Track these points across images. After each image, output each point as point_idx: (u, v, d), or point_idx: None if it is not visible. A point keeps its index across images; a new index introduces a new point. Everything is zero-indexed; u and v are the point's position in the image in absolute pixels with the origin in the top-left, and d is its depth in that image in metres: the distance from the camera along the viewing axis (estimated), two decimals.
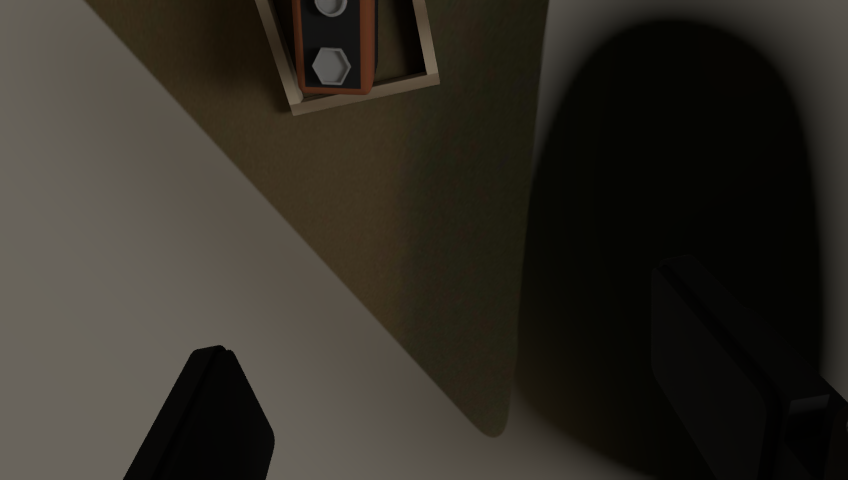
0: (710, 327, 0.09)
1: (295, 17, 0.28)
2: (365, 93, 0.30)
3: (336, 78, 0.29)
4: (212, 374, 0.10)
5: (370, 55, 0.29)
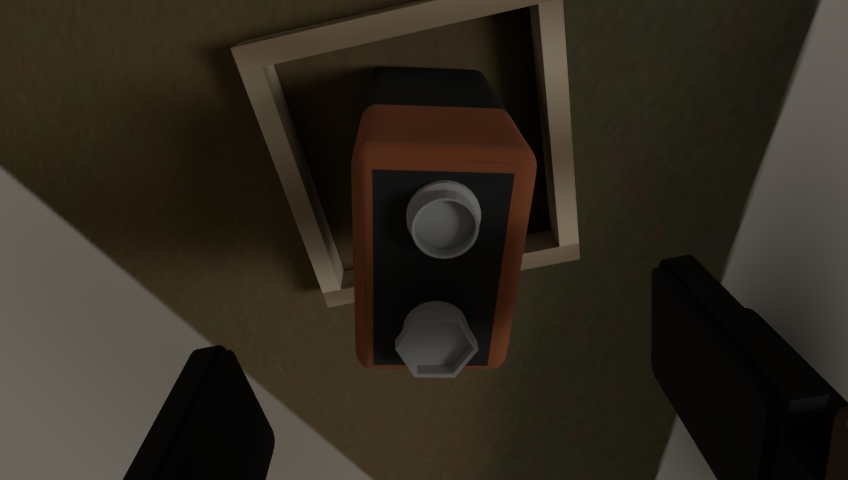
0: (710, 327, 0.09)
1: (360, 248, 0.13)
2: (494, 368, 0.15)
3: (443, 360, 0.14)
4: (212, 374, 0.10)
5: (513, 307, 0.14)
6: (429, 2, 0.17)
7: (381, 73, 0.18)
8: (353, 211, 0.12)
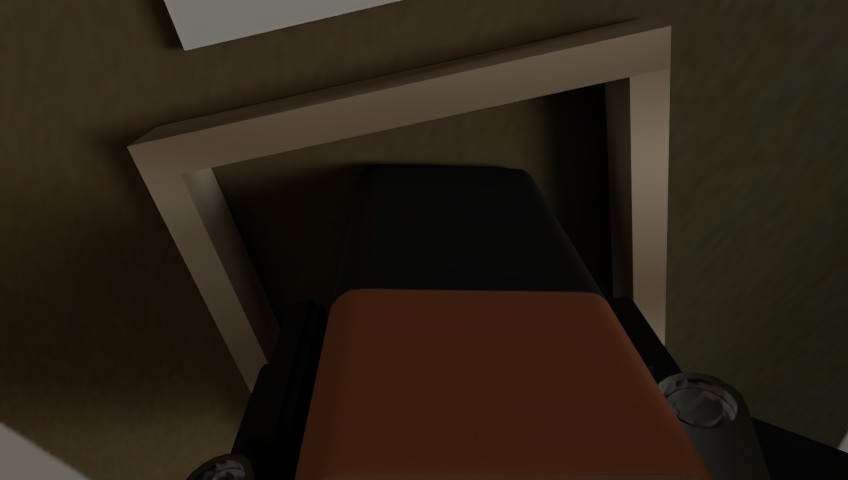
0: None
1: None
2: None
3: None
4: (312, 324, 0.11)
5: None
6: (451, 75, 0.10)
7: (373, 185, 0.11)
8: None
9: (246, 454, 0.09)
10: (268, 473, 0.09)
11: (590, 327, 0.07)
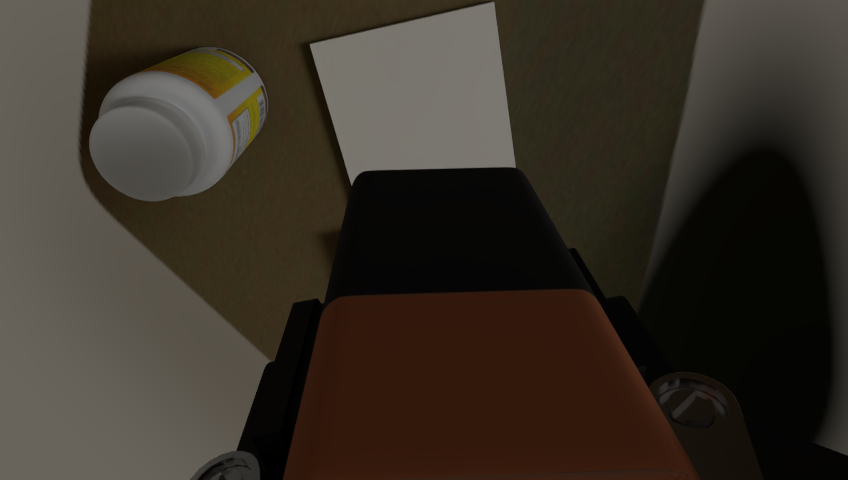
0: None
1: None
2: None
3: None
4: (317, 322, 0.11)
5: None
6: None
7: (365, 190, 0.11)
8: None
9: (252, 452, 0.09)
10: (274, 470, 0.09)
11: (576, 324, 0.07)
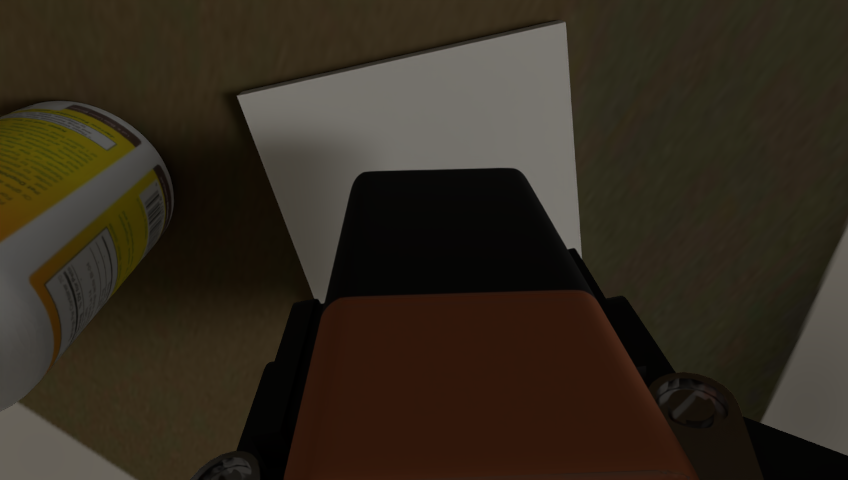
0: None
1: None
2: None
3: None
4: (317, 322, 0.11)
5: None
6: None
7: (365, 191, 0.11)
8: None
9: (252, 452, 0.09)
10: (274, 471, 0.09)
11: (575, 325, 0.07)
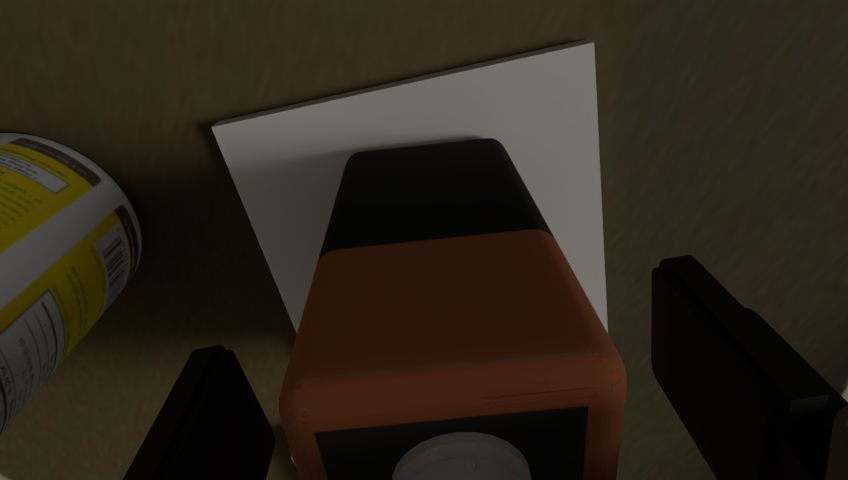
0: (710, 327, 0.09)
1: None
2: None
3: None
4: (212, 374, 0.10)
5: None
6: None
7: (354, 168, 0.12)
8: None
9: None
10: None
11: (529, 255, 0.08)
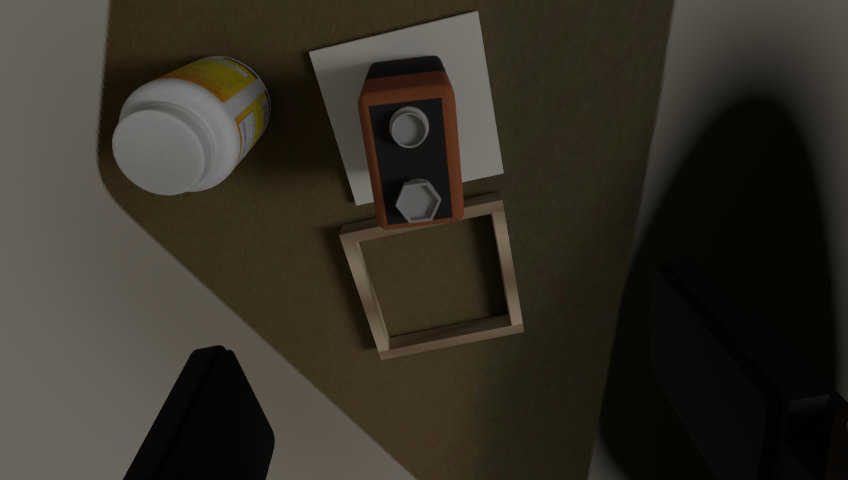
0: (710, 327, 0.09)
1: (369, 153, 0.24)
2: (458, 220, 0.25)
3: (424, 213, 0.24)
4: (212, 374, 0.10)
5: (460, 178, 0.24)
6: None
7: (374, 65, 0.29)
8: (362, 132, 0.23)
9: None
10: None
11: (434, 74, 0.24)
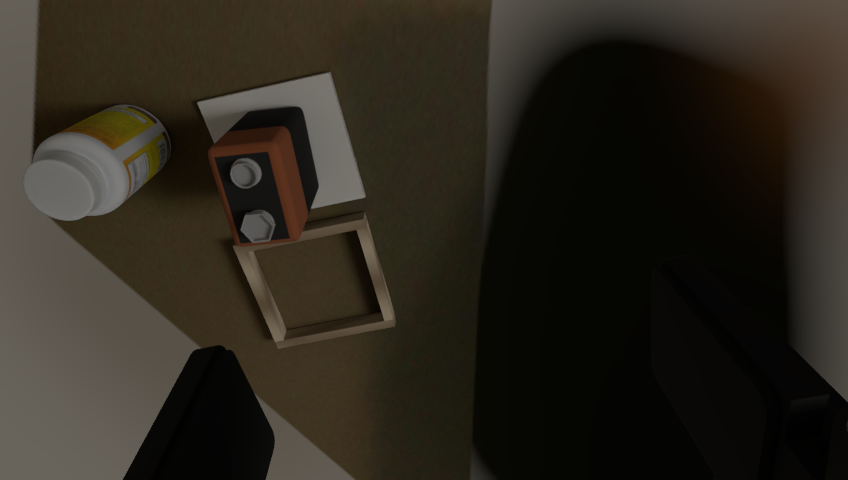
0: (710, 327, 0.09)
1: (219, 190, 0.31)
2: (295, 240, 0.33)
3: (265, 235, 0.32)
4: (212, 374, 0.10)
5: (292, 209, 0.32)
6: (312, 229, 0.42)
7: (245, 115, 0.37)
8: None
9: None
10: None
11: (274, 130, 0.32)
